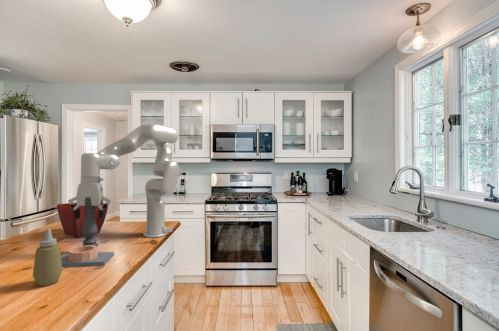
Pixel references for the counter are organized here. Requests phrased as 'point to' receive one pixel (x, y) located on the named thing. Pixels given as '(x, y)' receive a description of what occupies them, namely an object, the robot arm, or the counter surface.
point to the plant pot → (76, 225)
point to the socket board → (88, 263)
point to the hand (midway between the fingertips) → (89, 218)
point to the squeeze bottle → (47, 261)
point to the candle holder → (89, 224)
